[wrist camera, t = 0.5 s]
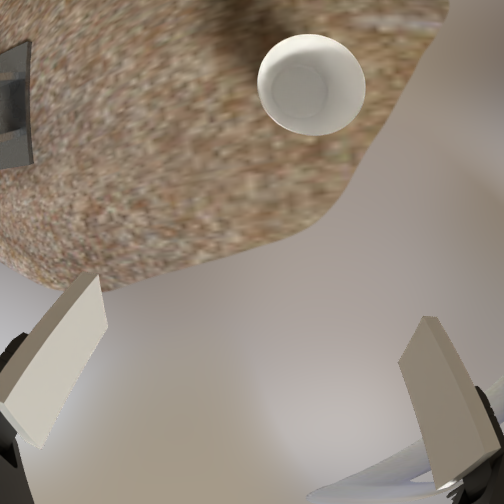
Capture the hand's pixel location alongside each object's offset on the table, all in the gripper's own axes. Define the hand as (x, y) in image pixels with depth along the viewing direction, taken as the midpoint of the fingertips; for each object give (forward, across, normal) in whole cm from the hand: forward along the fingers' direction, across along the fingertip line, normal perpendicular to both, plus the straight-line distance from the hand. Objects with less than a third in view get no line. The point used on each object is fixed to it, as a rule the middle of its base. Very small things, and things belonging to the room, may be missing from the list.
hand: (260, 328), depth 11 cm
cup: (+28, +2, +10) cm, 30 cm away
